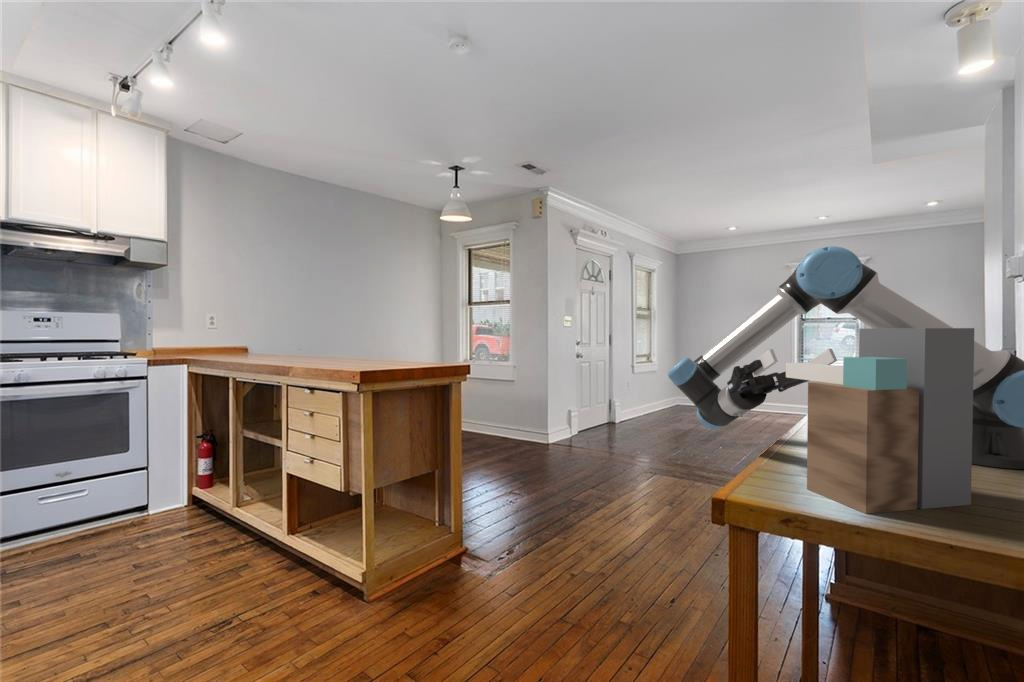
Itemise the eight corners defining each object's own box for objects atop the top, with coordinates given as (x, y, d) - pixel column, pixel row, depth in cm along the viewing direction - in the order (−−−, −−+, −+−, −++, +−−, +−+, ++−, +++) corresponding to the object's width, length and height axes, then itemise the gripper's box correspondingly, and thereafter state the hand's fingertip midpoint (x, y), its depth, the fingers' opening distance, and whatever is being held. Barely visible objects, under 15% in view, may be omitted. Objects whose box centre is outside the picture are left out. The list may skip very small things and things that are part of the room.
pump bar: (804, 376, 98) (805, 352, 98) (906, 389, 77) (906, 358, 77) (779, 377, 97) (779, 353, 96) (875, 390, 76) (876, 359, 76)
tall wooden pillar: (852, 485, 90) (854, 381, 89) (917, 509, 78) (919, 389, 77) (806, 489, 88) (808, 382, 87) (865, 513, 76) (867, 390, 76)
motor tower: (900, 482, 92) (903, 328, 91) (970, 504, 80) (974, 328, 79) (857, 485, 90) (859, 328, 89) (922, 508, 78) (925, 328, 77)
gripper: (793, 408, 113) (865, 370, 94) (699, 412, 108) (754, 373, 90) (782, 380, 116) (848, 338, 98) (690, 382, 112) (741, 338, 93)
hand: (803, 354), depth 94 cm, fingers open, 13 cm apart
